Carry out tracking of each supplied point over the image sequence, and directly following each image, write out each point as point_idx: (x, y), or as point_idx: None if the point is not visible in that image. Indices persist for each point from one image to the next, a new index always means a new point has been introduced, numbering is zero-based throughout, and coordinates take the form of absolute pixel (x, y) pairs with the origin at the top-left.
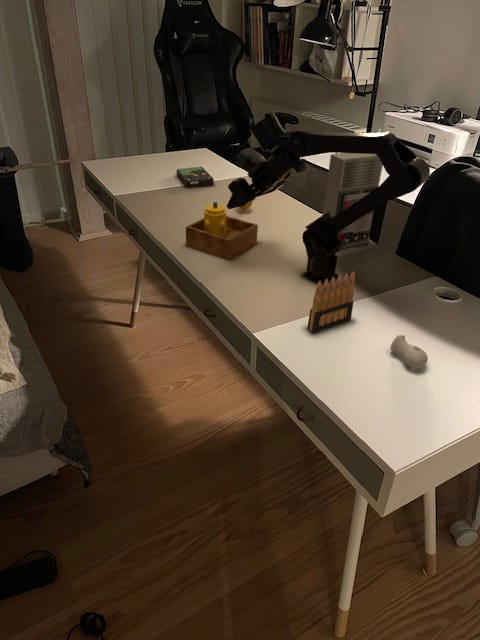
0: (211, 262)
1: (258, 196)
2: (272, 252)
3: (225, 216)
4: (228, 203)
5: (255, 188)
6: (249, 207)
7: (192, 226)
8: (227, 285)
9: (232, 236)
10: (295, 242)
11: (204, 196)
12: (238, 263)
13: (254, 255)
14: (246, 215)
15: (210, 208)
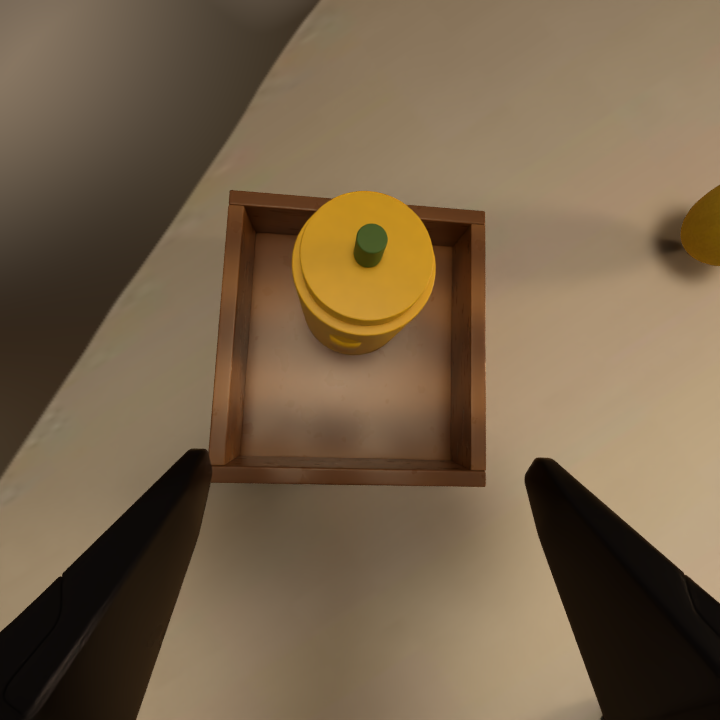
0: (176, 411)
1: (567, 612)
2: (410, 572)
3: (377, 338)
4: (149, 495)
5: (632, 614)
6: (712, 264)
7: (268, 211)
8: (26, 588)
9: (376, 388)
10: (558, 601)
11: (701, 36)
12: (233, 510)
13: (339, 523)
14: (655, 279)
15: (333, 236)
